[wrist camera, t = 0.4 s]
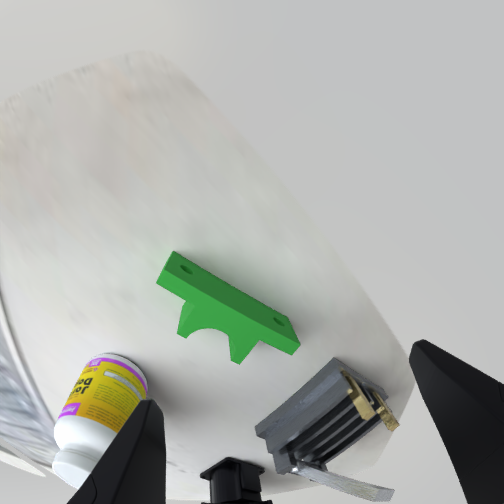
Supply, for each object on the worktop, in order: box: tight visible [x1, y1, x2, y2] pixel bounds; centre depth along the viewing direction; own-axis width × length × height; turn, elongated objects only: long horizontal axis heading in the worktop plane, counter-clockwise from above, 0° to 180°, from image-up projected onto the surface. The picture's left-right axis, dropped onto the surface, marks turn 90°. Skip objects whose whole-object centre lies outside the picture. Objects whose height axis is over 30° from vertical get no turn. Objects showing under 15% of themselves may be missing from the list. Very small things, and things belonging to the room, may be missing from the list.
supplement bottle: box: [52, 354, 148, 489], centre depth 19 cm, size 7×7×13 cm
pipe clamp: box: [156, 251, 301, 365], centre depth 22 cm, size 11×4×5 cm, turn 56°
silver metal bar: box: [288, 459, 395, 501], centre depth 20 cm, size 12×4×2 cm
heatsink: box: [255, 358, 399, 482], centre depth 26 cm, size 12×10×7 cm
